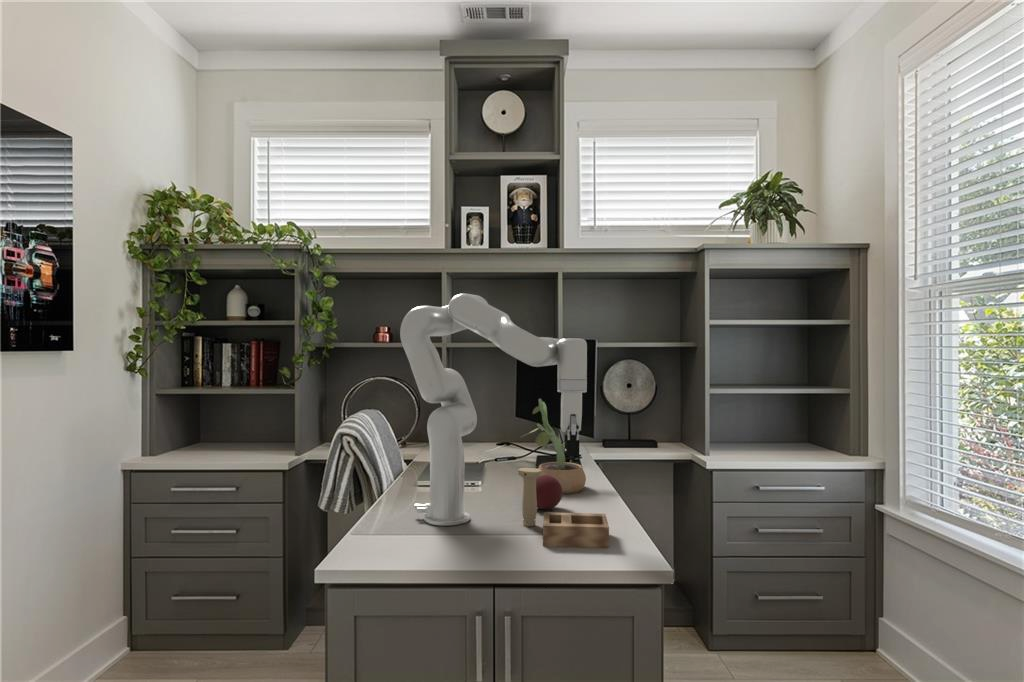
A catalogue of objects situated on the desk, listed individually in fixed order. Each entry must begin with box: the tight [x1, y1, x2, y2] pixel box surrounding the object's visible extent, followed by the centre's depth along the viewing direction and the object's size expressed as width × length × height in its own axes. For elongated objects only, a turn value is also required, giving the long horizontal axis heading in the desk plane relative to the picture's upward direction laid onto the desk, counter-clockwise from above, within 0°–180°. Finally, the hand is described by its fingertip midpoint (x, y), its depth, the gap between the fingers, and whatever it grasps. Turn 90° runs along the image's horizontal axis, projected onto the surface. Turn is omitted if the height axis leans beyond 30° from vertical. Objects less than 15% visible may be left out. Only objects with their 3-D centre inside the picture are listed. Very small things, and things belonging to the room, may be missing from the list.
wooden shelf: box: [542, 511, 610, 549], centre depth 164 cm, size 16×12×5 cm
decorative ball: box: [536, 475, 563, 511], centre depth 192 cm, size 10×10×10 cm
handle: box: [517, 467, 541, 527], centre depth 175 cm, size 5×6×15 cm
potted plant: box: [518, 398, 587, 495], centre depth 219 cm, size 22×18×30 cm
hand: (571, 452), depth 167 cm, fingers open, 9 cm apart
